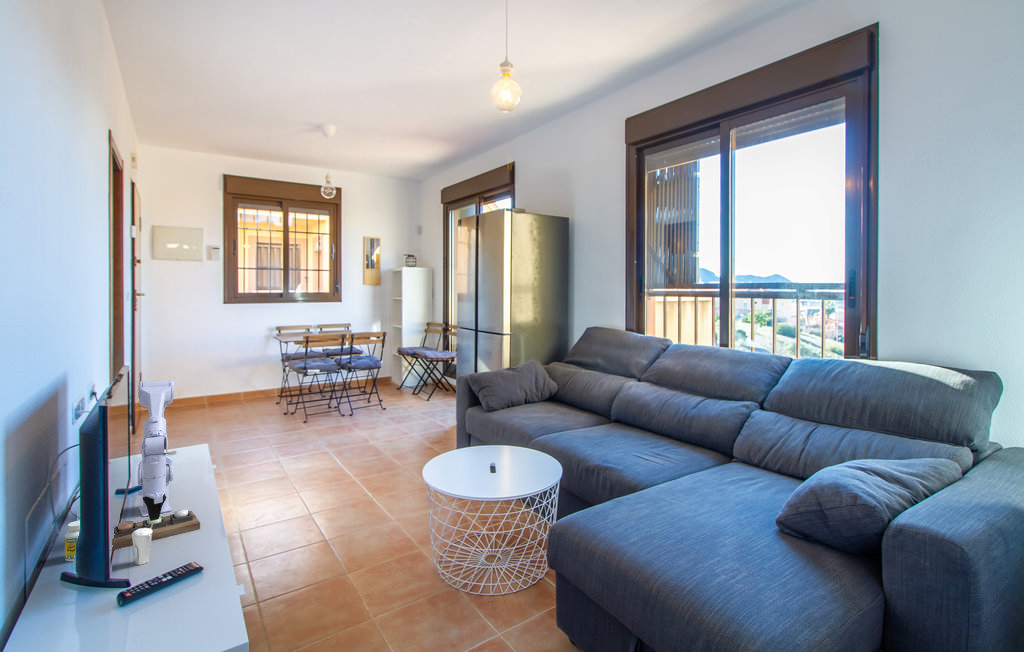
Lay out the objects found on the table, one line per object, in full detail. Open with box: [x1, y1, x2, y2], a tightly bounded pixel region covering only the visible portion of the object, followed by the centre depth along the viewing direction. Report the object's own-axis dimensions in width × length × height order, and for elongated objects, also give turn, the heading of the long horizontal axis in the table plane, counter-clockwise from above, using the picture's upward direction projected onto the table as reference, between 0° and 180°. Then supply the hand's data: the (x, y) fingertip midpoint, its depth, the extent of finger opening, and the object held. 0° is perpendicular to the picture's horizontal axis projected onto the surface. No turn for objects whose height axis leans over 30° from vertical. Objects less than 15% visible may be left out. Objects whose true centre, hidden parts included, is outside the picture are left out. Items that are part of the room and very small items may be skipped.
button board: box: [111, 510, 201, 551], centre depth 154 cm, size 12×22×4 cm, turn 133°
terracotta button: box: [117, 520, 134, 531], centre depth 149 cm, size 4×4×2 cm
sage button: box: [146, 516, 162, 525], centre depth 154 cm, size 4×4×2 cm
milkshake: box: [132, 522, 154, 566], centre depth 136 cm, size 4×5×10 cm
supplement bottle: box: [64, 520, 80, 562], centre depth 138 cm, size 5×5×10 cm
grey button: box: [173, 508, 189, 519], centre depth 159 cm, size 4×4×2 cm
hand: (154, 519), depth 154 cm, fingers closed, pressing on sage button
